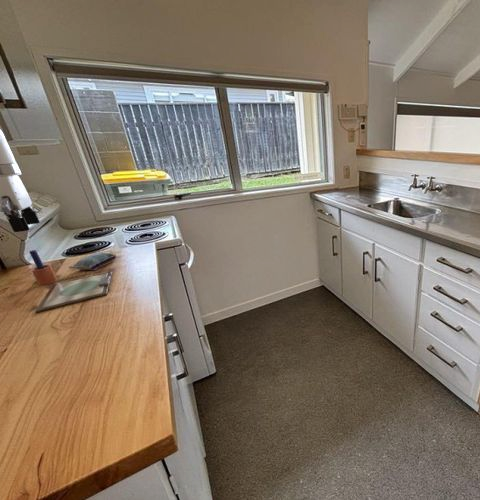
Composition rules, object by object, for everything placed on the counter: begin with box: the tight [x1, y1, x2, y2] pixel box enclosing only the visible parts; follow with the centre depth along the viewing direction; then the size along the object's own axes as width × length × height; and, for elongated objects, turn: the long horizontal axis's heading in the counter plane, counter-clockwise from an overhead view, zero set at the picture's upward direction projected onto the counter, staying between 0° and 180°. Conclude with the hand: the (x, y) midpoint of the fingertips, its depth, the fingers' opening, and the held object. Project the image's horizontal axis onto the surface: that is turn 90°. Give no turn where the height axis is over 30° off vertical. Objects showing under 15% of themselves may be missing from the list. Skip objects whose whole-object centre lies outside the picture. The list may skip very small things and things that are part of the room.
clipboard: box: [34, 271, 113, 314], centre depth 91 cm, size 16×20×1 cm
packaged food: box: [68, 252, 118, 271], centre depth 108 cm, size 9×12×5 cm
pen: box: [28, 249, 45, 270], centre depth 95 cm, size 2×2×12 cm
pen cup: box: [30, 264, 58, 286], centre depth 96 cm, size 5×5×6 cm
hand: (27, 227), depth 88 cm, fingers open, 9 cm apart
